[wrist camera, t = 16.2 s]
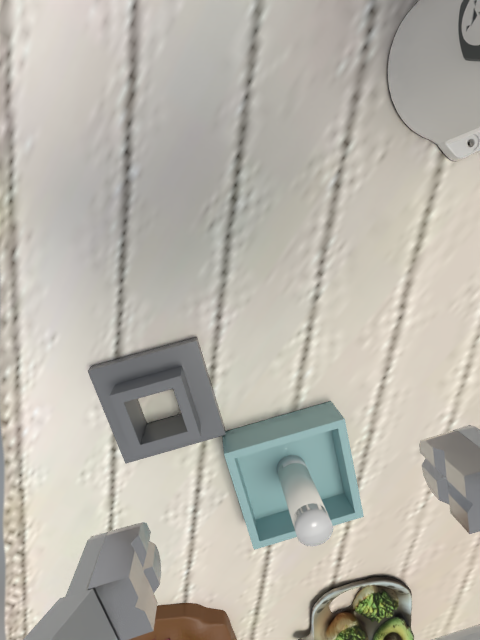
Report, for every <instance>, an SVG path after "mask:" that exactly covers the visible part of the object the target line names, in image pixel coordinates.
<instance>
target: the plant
mask: <svg viewBox="0 0 480 640" xmlns="http://www.w3.org/2000/svg"><path fill="white" fill-rule="evenodd" d="M129 640H237V639H236V636H235V634H234V631H233V629H232V627H231V623H230V620H229V618H228V616H227V614H226V612H225V611H223V610H218V609H211V608H206V607H203V606H201V605H199V604H193V603H179V604H170V605H159V606H157V609H156V616H155V624H154V631H152V632H149V633H146V634H143V635H140V636H137V637H135V638H132V639H129Z"/></svg>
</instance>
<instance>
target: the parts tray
mask: <svg viewBox="0 0 480 640" xmlns="http://www.w3.org/2000/svg"><path fill="white" fill-rule="evenodd" d="M223 448H224V455H225V459H226V462H227V465H228V468H229V471H230V475H231V478H232V481H233V484H234V487H235V490H236V494H237V497H238V500H239V503H240V506H241V510H242V513H243V516H244V519H245V522H246V525H247V529H248V532H249V535H250V538H251V541H252V545H253V548H254V550H255V549H258V548H261V547H265V546H268V545H271V544H274V543H278V542H281V541H284V540H288V539H291V538H294V537H297V535H296V532H295V529H294V526H293V522H292V519H291V516H290V513H289V509H288V506H287V503H286V500H285V497H284V493H283V490H282V487H281V484H280V480H279V477H278V474H277V465H278V463H279V461H280V460H281V459H282V458H284V457H286V456H289V455H297V456H299V457H301V458H302V459H303V460H304V462H305V464H306V466H307V468H308V471H309V473H310V475H311V477H312V480H313V482H314V484H315V486H316V488H317V491H318V493H319V495H320V497H321V500H322V502H323V504H324V506H325V509H326V511H327V513H328V515H329V518H330V520H331V522H332V525H333V526H334V525H337V524H341V523H344V522H347V521H351V520H354V519H357V518H361V517H364V516H363V511H362V506H361V501H360V496H359V490H358V485H357V480H356V475H355V470H354V465H353V460H352V455H351V449H350V444H349V439H348V434H347V429H346V424H345V419H344V418H343V416H342V415H341V414H340V412H339V411H338V410H337V409H336V407H335V406H334V405H333V403H332V402H331V401H330V402H326V403H323V404H319V405H316V406H312V407H309V408H306V409H302V410H299V411H295V412H292V413H288V414H285V415H281V416H278V417H274V418H271V419H267V420H264V421H260V422H257V423H253V424H250V425H246V426H243V427H240V428H236V429H233V430H229V431H226V432H225V435H223Z"/></svg>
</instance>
